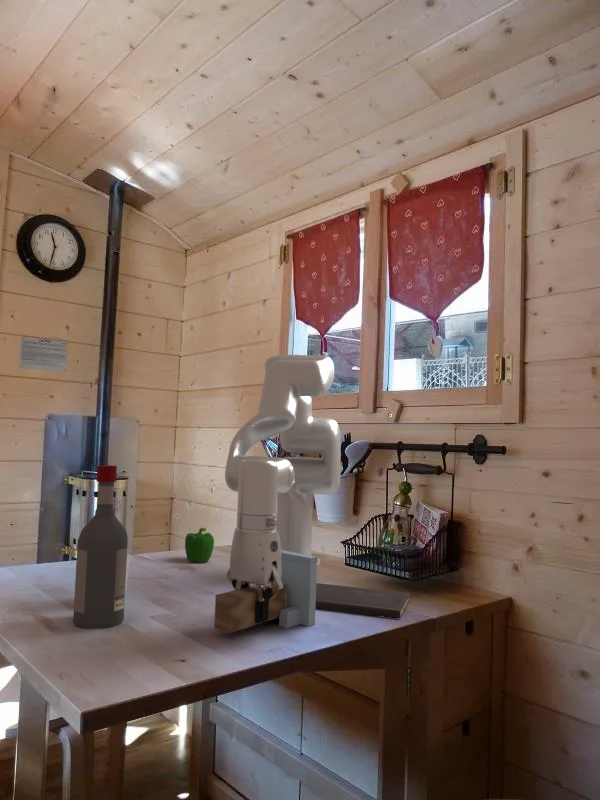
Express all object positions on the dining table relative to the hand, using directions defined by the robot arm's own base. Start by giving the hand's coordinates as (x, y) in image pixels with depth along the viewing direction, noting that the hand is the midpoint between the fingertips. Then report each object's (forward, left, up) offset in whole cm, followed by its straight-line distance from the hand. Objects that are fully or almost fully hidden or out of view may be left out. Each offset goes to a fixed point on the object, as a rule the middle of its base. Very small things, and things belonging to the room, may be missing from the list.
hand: (252, 617), depth 117 cm
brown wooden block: (0, 0, -1) cm, 1 cm away
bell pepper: (-34, -53, -2) cm, 63 cm away
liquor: (+18, -24, -2) cm, 30 cm away
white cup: (+9, -34, -2) cm, 35 cm away
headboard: (-8, 0, -2) cm, 8 cm away
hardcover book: (-29, +4, -3) cm, 30 cm away
